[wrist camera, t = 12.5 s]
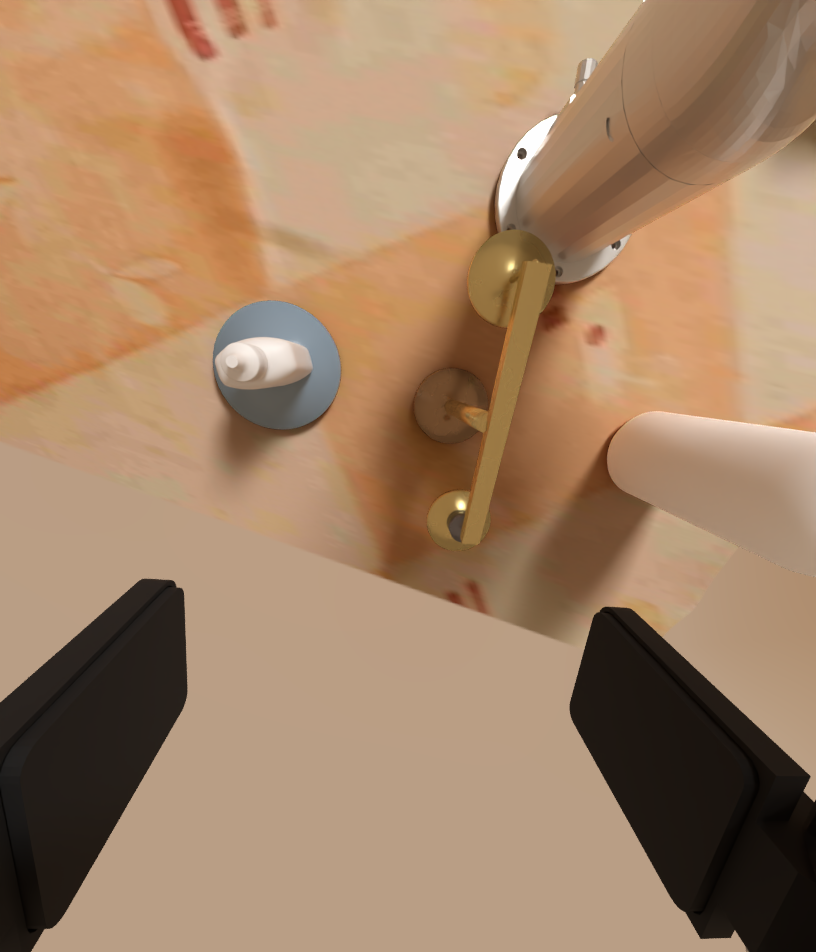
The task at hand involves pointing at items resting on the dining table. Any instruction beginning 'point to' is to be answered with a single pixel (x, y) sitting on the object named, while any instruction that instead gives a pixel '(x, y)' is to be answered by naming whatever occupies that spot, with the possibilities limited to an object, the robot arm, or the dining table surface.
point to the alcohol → (725, 480)
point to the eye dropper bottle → (262, 363)
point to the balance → (464, 397)
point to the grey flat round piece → (292, 400)
